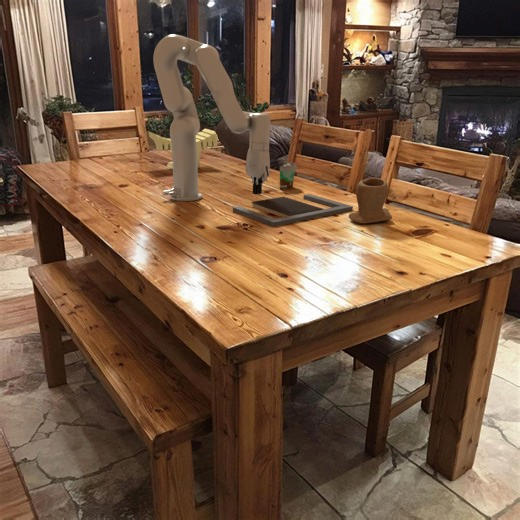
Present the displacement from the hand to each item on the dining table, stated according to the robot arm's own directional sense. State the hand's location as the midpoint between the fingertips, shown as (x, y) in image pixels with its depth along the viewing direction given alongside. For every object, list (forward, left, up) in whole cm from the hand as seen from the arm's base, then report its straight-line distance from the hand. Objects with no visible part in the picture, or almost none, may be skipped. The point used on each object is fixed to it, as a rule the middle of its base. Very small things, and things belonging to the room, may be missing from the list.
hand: (257, 193), depth 219 cm
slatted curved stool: (+10, +75, -3) cm, 76 cm away
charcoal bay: (+1, -21, -2) cm, 21 cm away
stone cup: (+14, -48, -3) cm, 50 cm away
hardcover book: (0, -19, -3) cm, 19 cm away
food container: (+25, +10, -3) cm, 27 cm away
